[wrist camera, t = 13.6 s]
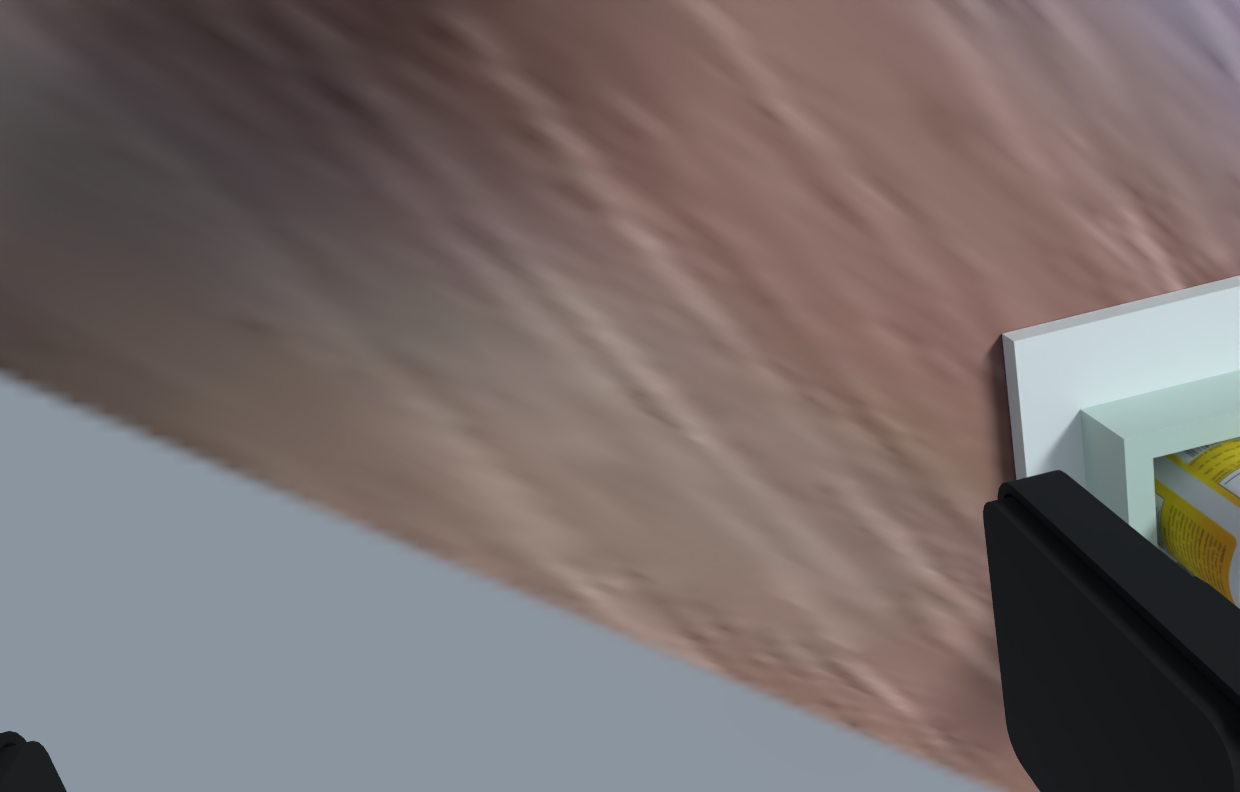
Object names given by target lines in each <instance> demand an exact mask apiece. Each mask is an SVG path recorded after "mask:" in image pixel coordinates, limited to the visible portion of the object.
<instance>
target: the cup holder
mask: <svg viewBox="0 0 1240 792" xmlns="http://www.w3.org/2000/svg"><path fill="white" fill-rule="evenodd" d="M1002 339H1003V349H1004V360H1005V370H1006V380H1007V390H1008V400H1009V410H1010V421H1011V431H1012V441H1013V451H1014V461H1015V471H1016V480H1018V479H1022V478H1026V477H1030V476H1034V475H1038V474H1042V473H1046V472H1050V471H1055V470H1061V471H1063V472H1065V473H1066V474H1067V475H1069V476H1070V477H1071V478H1072V479H1074V480H1075V481H1076V482H1077V483H1078V484H1080V485H1081V486H1082V487H1083V488H1085V489H1086V490H1087V491H1088V492H1090V493H1091V494H1092V495H1093V496H1094V497H1096V498H1097V499H1098V500H1099V501H1101V502H1102V503H1103V504H1104V505H1105V506H1107V507H1108V508H1109V509H1110V510H1112V511H1113V512H1114V513H1115V514H1116V515H1118V516H1119V517H1120V518H1121V519H1123V520H1124V521H1125V522H1126V523H1128V524H1129V525H1130V526H1131V527H1132V528H1134V529H1135V530H1136V531H1137V532H1139V533H1140V534H1141V535H1142V536H1143V537H1145V538H1146V539H1147V540H1148V541H1150V542H1151V543H1152V544H1153V545H1154V546H1156V547H1157V548H1158V549H1159V550H1161V551H1162V552H1163V553H1164V554H1166V555H1167V556H1168V557H1169V558H1170V559H1172V560H1173V561H1174V562H1175V563H1177V564H1178V565H1179V566H1180V567H1181V568H1183V569H1184V570H1185V571H1186V572H1188V573H1189V574H1190V575H1191V576H1195V575H1194V574H1193V573H1192V572H1191V571H1189V570H1188V569H1187V568H1186V567H1185V566H1183V565H1182V564H1181V563H1180V562H1178V561H1177V560H1176V559H1175V558H1174V557H1172V556H1171V555H1170V554H1169V553H1168V552H1166V551H1165V550H1164V549H1163V548H1162V547H1160V546H1159V545H1158V544H1157V526H1156V506H1155V486H1154V466H1153V458H1156V457H1160V456H1164V455H1168V454H1172V453H1176V452H1180V451H1184V450H1188V449H1192V448H1196V447H1200V446H1204V445H1208V444H1212V443H1216V442H1220V441H1224V440H1228V439H1232V438H1236V437H1240V276H1235V277H1231V278H1227V279H1223V280H1219V281H1215V282H1211V283H1207V284H1203V285H1199V286H1195V287H1191V288H1186V289H1182V290H1178V291H1174V292H1170V293H1166V294H1162V295H1158V296H1154V297H1150V298H1146V299H1142V300H1137V301H1133V302H1129V303H1125V304H1121V305H1117V306H1113V307H1109V308H1105V309H1101V310H1097V311H1092V312H1088V313H1084V314H1080V315H1076V316H1072V317H1068V318H1064V319H1060V320H1056V321H1052V322H1048V323H1043V324H1039V325H1035V326H1031V327H1027V328H1023V329H1019V330H1015V331H1011V332H1007V333H1003V334H1002ZM1195 577H1197V576H1195Z"/></svg>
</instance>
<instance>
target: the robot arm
mask: <svg viewBox="0 0 1240 792" xmlns="http://www.w3.org/2000/svg"><path fill="white" fill-rule="evenodd" d="M983 519H984V528H985V537H986V546H987V555H988V564H989V573H990V582H991V591H992V600H993V609H994V618H995V627H996V636H997V645H998V654H999V663H1000V672H1001V681H1002V690H1003V699H1004V708H1005V717H1006V725H1007V730H1008V734H1009V738H1010V741H1011V744H1012V746H1013V749H1014V751H1015V753H1016V756H1017V758H1018V760H1019V761H1020V763H1021V765H1022V766H1023V767H1024V769H1025V770H1026V772H1027V773H1028V775H1029V776H1030V777H1031V779H1032V780H1033V782H1034V783H1035V785H1036V786H1037V787H1038V789H1039V790H1040V792H1240V609H1239V608H1238V607H1237V606H1236V605H1234V604H1233V603H1232V602H1231V601H1229V600H1228V599H1227V598H1226V597H1224V596H1223V595H1222V594H1221V593H1219V592H1218V591H1217V590H1216V589H1215V588H1213V587H1212V586H1211V585H1210V584H1208V583H1206V582H1205V581H1203V580H1201V579H1199V578H1198V577H1195V576H1191V575H1190V574H1189V573H1188V572H1186V571H1185V570H1184V569H1183V568H1181V567H1180V566H1179V565H1178V564H1177V563H1175V562H1174V561H1173V560H1172V559H1170V558H1169V557H1168V556H1167V555H1166V554H1164V553H1163V552H1162V551H1161V550H1159V549H1158V548H1157V547H1156V546H1154V545H1153V544H1152V543H1151V542H1150V541H1148V540H1147V539H1146V538H1145V537H1143V536H1142V535H1141V534H1140V533H1139V532H1137V531H1136V530H1135V529H1134V528H1132V527H1131V526H1130V525H1129V524H1128V523H1126V522H1125V521H1124V520H1123V519H1121V518H1120V517H1119V516H1118V515H1116V514H1115V513H1114V512H1113V511H1112V510H1110V509H1109V508H1108V507H1107V506H1105V505H1104V504H1103V503H1102V502H1101V501H1099V500H1098V499H1097V498H1096V497H1094V496H1093V495H1092V494H1091V493H1090V492H1088V491H1087V490H1086V489H1085V488H1083V487H1082V486H1081V485H1080V484H1078V483H1077V482H1076V481H1075V480H1074V479H1072V478H1071V477H1070V476H1069V475H1067V474H1066V473H1065V472H1063V471H1061V470H1055V471H1050V472H1046V473H1042V474H1038V475H1034V476H1030V477H1026V478H1022V479H1018V480H1014V481H1010V482H1006V483H1002V485H1001V486H1000V488H999V492H998V500H995V501H991V502H987V503H986V504H985V505H984V510H983ZM0 792H67V791H66V790H65V787H64V785H63V783H62V781H61V779H60V777H59V775H58V773H57V771H56V769H55V767H54V765H53V763H52V761H51V758H50V756H49V754H48V753H47V751H46V750H45V748H44V747H43V746H42V745H41V744H40V743H39V742H35V741H30V742H26V740H25V739H24V738H23V737H22V736H20V735H19V734H18V733H16V732H11V731H8V732H4V733H0Z"/></svg>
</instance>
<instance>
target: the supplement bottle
mask: <svg viewBox="0 0 1240 792" xmlns="http://www.w3.org/2000/svg"><path fill="white" fill-rule="evenodd" d="M1153 466H1154V486H1155V506H1156V526H1157V544H1158V545H1159V546H1160V547H1162V548H1163V549H1164V550H1165V551H1166V552H1168V553H1169V554H1170V555H1171V556H1172V557H1174V558H1175V559H1176V560H1177V561H1178V562H1180V563H1181V564H1182V565H1183V566H1185V567H1186V568H1187V569H1188V570H1189V571H1191V572H1192V573H1193V574H1194V575H1195V576H1197V577H1198V578H1199V579H1201V580H1203V581H1205V582H1206V583H1208V584H1210V585H1211V586H1212V587H1213V588H1215V589H1216V590H1217V591H1218V592H1219V593H1221V594H1222V595H1223V596H1224V597H1226V598H1227V599H1228V600H1229V601H1231V602H1232V603H1233V604H1234V605H1236V606H1237V607H1238V608H1239V609H1240V437H1236V438H1232V439H1228V440H1224V441H1220V442H1216V443H1212V444H1208V445H1204V446H1200V447H1196V448H1192V449H1188V450H1184V451H1180V452H1176V453H1172V454H1168V455H1164V456H1160V457H1156V458H1153Z"/></svg>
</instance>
